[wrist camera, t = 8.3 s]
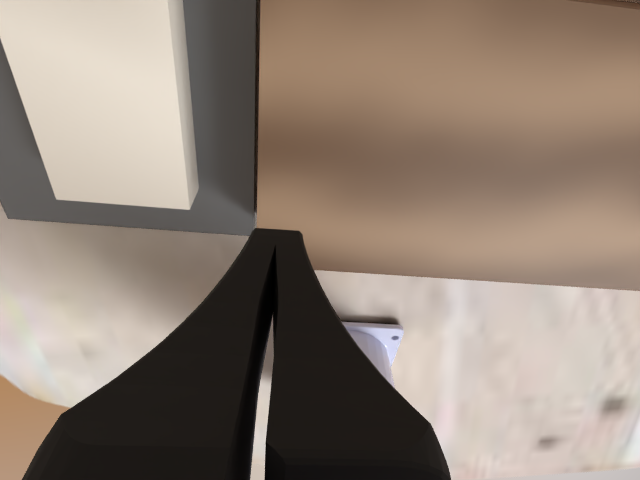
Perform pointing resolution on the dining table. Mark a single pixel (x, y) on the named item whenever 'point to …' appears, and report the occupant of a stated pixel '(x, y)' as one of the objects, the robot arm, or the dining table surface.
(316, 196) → the brown wooden block
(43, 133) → the cream rectangular slab
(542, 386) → the dining table surface
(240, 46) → the mat
